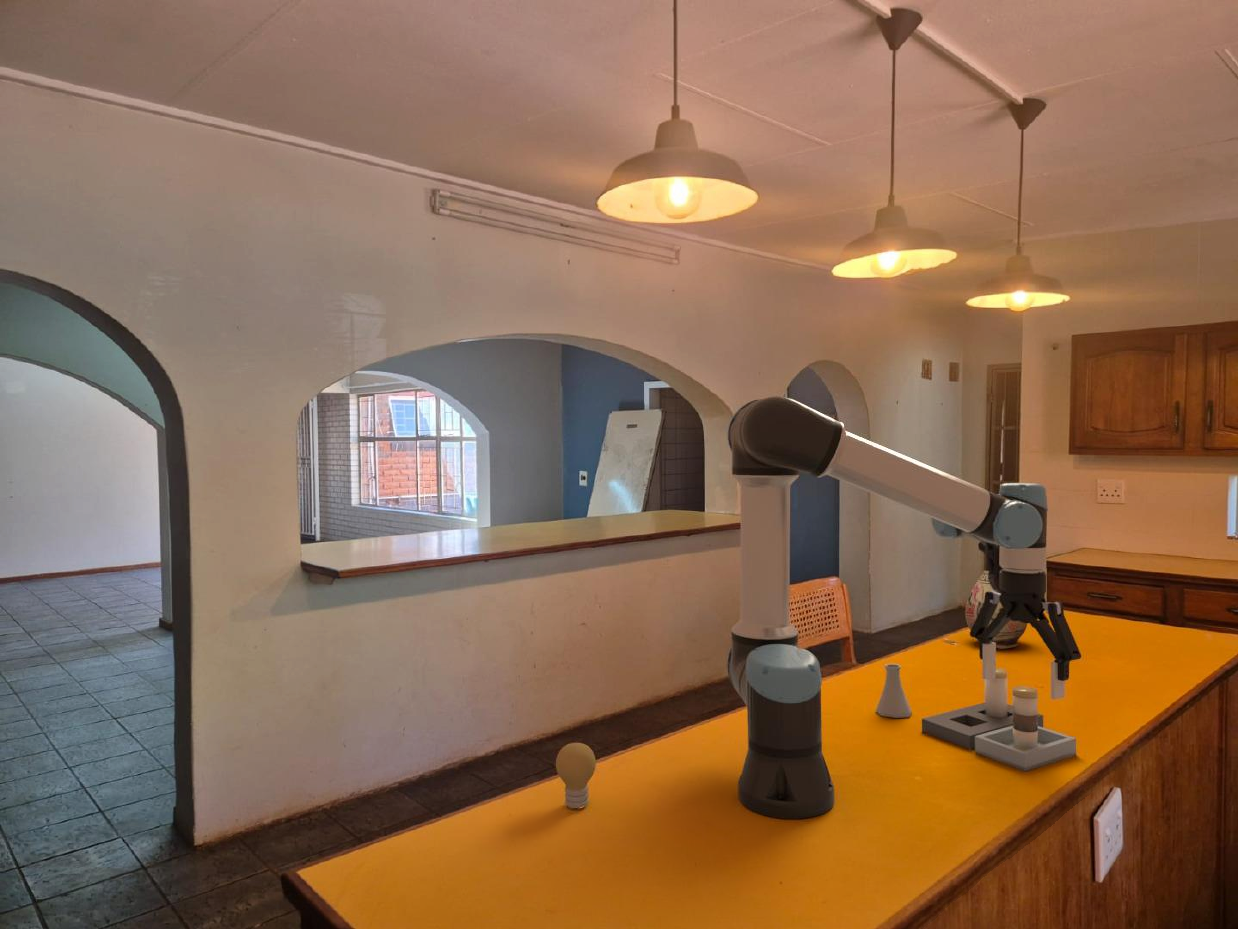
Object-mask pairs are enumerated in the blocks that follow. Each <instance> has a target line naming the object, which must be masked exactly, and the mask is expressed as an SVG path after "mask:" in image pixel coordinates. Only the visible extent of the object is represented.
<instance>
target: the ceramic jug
mask: <svg viewBox="0 0 1238 929" xmlns="http://www.w3.org/2000/svg"><path fill="white" fill-rule="evenodd" d="M977 547H978V550H979V551H980V552H982V553H983V554H984V555H985V557H986V558H985V559H986V563H985V569H984V570H983V572H982V574H981V575H980V577H978V580H977V581H976V583H975V584H974V586H973V588H972V589H971V590H970V591H971V592H970V594H969V595H968V597H967V598H968V599H967V600H966V606H965V611H964V612H965V613H964V614H965V621H966V623H967V627H968V628H969V630H970V631H971V629H972V627H973V625H974V623H975V621H976V619H977V616H978V614H979V612H980V610H981V608H982V606H983V604H984V599H985V593H986V592H988V591H995V590H997V591H998V592H999V593H1000V594H1001V592H1002V590H1001V589H1000V587H999V579H1000V571H1001V570H1002V569H1003V568H1002V567H1001V566H1000V565H999V555H1000V545H996V544H992V543H989V542H983V541H979V542H978V545H977ZM1002 608H1003V606H1002V605H1001V603H1000V602H999V603H998V605H997V608H996V610H995V612H994V614H993V616H992V618H991V620H990V622H989V624H988V626H989V625H990V624H991V622H992V621H993V620H994V619H995V618H996V617H997V614H998V613H999V612H1000V611H1001V609H1002ZM1028 624H1029V623H1027V624H1026V623H1022V622H1020V621H1012V620H1010V621H1009V622H1008V623H1007V624H1006V625H1005V626H1004V627H1003V628H1002V629H1001V631H1000V632H999V633H998V634H997V635H996V636H995V637H994V638H993V639H992V640H994V641H990V643H991V642H994V643H996V649H1000V650H1004V649H1009V648H1010V649H1011V648H1015V647H1017V646H1018V641H1019V640H1020V638H1021V637H1022V636H1023V635H1024V633H1025V632H1026V630H1027V627H1028ZM988 626H987V627H988Z"/></svg>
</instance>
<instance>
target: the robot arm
mask: <svg viewBox="0 0 1238 929" xmlns="http://www.w3.org/2000/svg"><path fill="white" fill-rule="evenodd" d="M727 441H728V445H729V449H730V451H731V477H732V478H733V479H734V480H735V481H736V482H737V483H738V484H739V486H740V558H739V559H740V561H739V562H740V565H739V566H740V567H739V568H740V569H739V570H740V573H739V574H740V575H739V576H740V577H739V578H740V581H739V583H740V586H739V587H740V588H739V589H740V595H739V598H740V601H739V603H740V607H739V609H740V610H739V616H740V619H739V620H738V622H736V623H735V624H734V625H733V626H732V627H731V646H730V649H729V651H728V654H727V657H726V658H727V659H726V670H727V676H728V679H729V681H730V684H731V686H732V687H733V688H734V690H735V691H736V693H738V695H739V697H740V698H741V699H742V701H743V702H744V704H745V705H746V711H747V715H746V716H747V744H748V745H747V752H746V755H745V758H744V762H743V766H742V771H741V774H740V775H739V778H738V780H737V781H738V784H737V793H738V799H739V802H740V803H741V804H742V805H743V806H745V807H746V808H748V810H751V811H753V812H755V813H758V814H760V815H764V816H768V817H772V818H777V819H792V820H793V819H797V820H798V819H808V818H813V817H817V816H820V815H822V814H825V813H827V812H828V811H829V810H831V809H832V808H833V807H834V804H835V787H834V783H833V780H832V778H831V774H830V772H829V768H828V766H827V763H826V760H825V757H824V754H823V747H822V746H823V743H822V742H823V741H822V738H823V737H822V734H823V732H822V730H823V729H822V682H823V678H822V673H821V668H820V663H819V660H818V658H817V656H815V655H814V654H813V653H812V652H810V651H809V650H807V649H805V648H802V647H801V648H799V630H798V629H797V628H796V626H794V625H793V624H792V623H791V621H790V592H791V591H790V586H791V585H790V582H791V578H790V575H791V574H790V570H791V568H790V565H791V564H790V562H791V561H790V560H791V556H790V551H791V549H790V548H791V546H790V545H791V543H790V542H791V540H790V539H791V534H790V533H791V527H790V526H791V486H792V484H793V483H794V482H795V481H796V480H797V479H798V478H799V476H800V472H802V473H805V474H808V475H810V476H812V477H815V478H821V477H822V478H823V477H824V476H828V477H832V478H833V479H836V480H839V481H841V482H843V483H846V484H849V485H851V486H854V487H855V488H858V489H861V490H862V491H866V492H868V493H871V494H873V495H875V496H877V497H880V498H883V499H886V500H888V501H890V502H892V503H895V504H898V505H900V506H903V507H905V508H907V509H910V510H912V511H914V512H917V513H920V514H922V515H924V516H927V517H929V518H930V520H931V525H932V528H933V530H934V531H935V534H937V535H938V536H939V537H941V538H953V539H957V538H965V539H972V540H976V541H979V542H980V541H983V542H985V543H986V542H989V543H992V544H996V545H1000V555H999V565H1000V566H1001V567H1002V568H1003V569H1002V570H1001V571H1000V579H999V587H1000V589H1001V590H1002V592H1001V594H1000V593H999V592H998V591H997V590H995V591H988V592H986V593H985V599H984V604H983V606H982V608H981V610H980V612H979V614H978V616H977V619H976V621H975V623H974V625H973V627H972V629H971V630H970V631H969V636H970V637H971V638H975V639H976V640H977V641H978V642H979V659H980V660H982V665H981V666H982V667H981V668H982V675H981V679H982V680H984V681H985V680H987V679H991V678H996V668H997V667H996V666H997V662H996V661H997V660H996V659H997V657H996V656H997V648H996V643H994V642H991V643H990V641H994V640H992V639H993V638H994V637H995V636H996V635H997V634H998V633H999V632H1000V631H1001V629H1002V628H1003V627H1004V626H1005V625H1006V624H1007V623H1008V622H1009V621H1010V620H1012V621H1020V622H1022V623H1026V624H1027V623H1028V624H1029V625H1030V626H1031V627H1032V628H1034V629H1035V630H1036V632H1037V633H1038V635H1039V636H1040V639H1041V640H1042V641H1043V643H1044V644H1045V645H1046V647H1047V649H1048V650H1049V652H1050V654H1052V656H1053V657H1054V660H1051V661H1050V700H1054V701H1055V700H1060V699H1064V698H1066V681H1068V680H1069V679H1070V662H1072V661H1077V660H1080V659H1082V654H1081V651H1080V649H1079V646H1078V645H1077V641H1076V639H1075V637H1074V635H1073V633H1072V630H1071V628H1070V626H1069V623H1068V621H1067V618H1066V617H1065V614H1064V613H1065V611H1064V604H1063V602H1062V601H1053V602H1050V601H1049V602H1047V601H1046V597H1045V596H1046V593H1047V573H1046V572H1045V571H1044V570H1045V569H1046V568H1047V531H1048V530H1047V525H1048V524H1047V523H1048V521H1047V520H1048V511H1049V508H1048V497H1047V490H1046V488H1045V486H1044V485H1043V484H1040V483H1035V482H1034V483H1033V482H1031V483H1030V482H1009V483H1007V482H1005V483H1002V484H1001V485H1000V486H999V491H998V494H997V493H995V492H992V491H989V490H987V489H985V488H983V487H981V486H978V485H976V484H973V483H970V482H968V481H966V480H964V479H961V478H959V477H957V476H954V475H952V474H949V473H946V472H945V471H942V470H940V469H937V468H934V467H932V466H929V465H927V464H925V463H924V462H920V461H918V460H916V459H913V458H911V457H909V456H906V455H905V454H901V453H899V452H897V451H894V450H892V449H889V448H887V447H885V446H882V445H879V444H878V443H875V442H873V441H870V440H867V439H865V438H864V437H860V436H859V435H856V434H854V433H851V432H849V431H847V430H846V428H845V425H844V423H843V422H842V421H839V420H836V419H834V418H832V417H830V416H827V415H826V414H824V413H822V412H819V411H817V410H816V409H813V408H811V407H810V406H808V405H805V404H804V403H801V402H799V401H798V400H795V399H793V398H790V397H789V398H788V397H785V396H778V395H776V396H770V397H765V398H760V399H755V400H754V399H753V400H752V401H751V400H750V401H749V402H747V403H745V404H743V405H742V406H741V407H740V408H739V409H738V410H737V411H736V412H735V413H734V415H733V416H732V418H731V420H730V422H729V424H728V429H727ZM999 602H1000V603H1001V605H1002V606H1003V608H1002V609H1001V611H1000V612H999V613H998V614H997V617H996V618H995V619H994V620H993V621H992V622H991V624H990V625H989V626H988V624H989V622H990V620H991V618H992V616H993V614H994V612H995V610H996V608H997V605H998V603H999ZM1044 612H1045V613H1044ZM1046 614H1047V615H1048V617H1047V616H1046ZM1050 623H1051V624H1050ZM1028 624H1027V625H1028ZM987 626H988V627H987Z"/></svg>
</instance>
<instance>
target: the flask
mask: <svg viewBox="0 0 1238 929" xmlns="http://www.w3.org/2000/svg"><path fill="white" fill-rule="evenodd" d="M901 667H902V666H901V665H900V664H897V663H885V665H884V669H885V671H886V674H885V675H886V676H885V682H884V686H883V689H882V692H881V695H880V698H879V701H878V703H877V707H876V709H875V712H876V713H877V714H878V715H879V716H881V717H887V718H895V719H899V718H910V716H912V714H913V712H912V709H911V706H910V704H909V701H908V698H907V696H906V693H905V690H904V688H903V685H902V681H901V676H900V674H901V673H900V670H901V669H902V668H901Z"/></svg>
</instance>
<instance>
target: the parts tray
mask: <svg viewBox="0 0 1238 929" xmlns="http://www.w3.org/2000/svg"><path fill="white" fill-rule="evenodd" d="M974 753H975V754H978V755H980V756H984V757H985V758H989V759H991V760H994V761H997V762H999V763H1000V764H1004V765H1006V766H1009V767H1012V768H1015V769H1018V770H1020V771H1022V772H1024V773H1025V772H1029V771H1031V770H1035V769H1038V768H1040V767H1044V766H1047V765H1050V764H1053V763H1056V762H1059V761H1062V760H1065V759H1068V758H1071V757H1075V756H1076V755H1077V737H1073V736H1070V735H1068V734H1065V733H1061V732H1058V731H1054V730H1051V729H1048V728H1046V727H1044V726H1043V727H1039V726H1038V747H1035V748H1032V749H1029V750H1026V751H1022V750H1019V749H1016V748H1013V726H1009V727H1006V728H1002V729H999V730H995V731H992V732H988V733H984V734H981V735H977V736H975V748H974Z"/></svg>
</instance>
